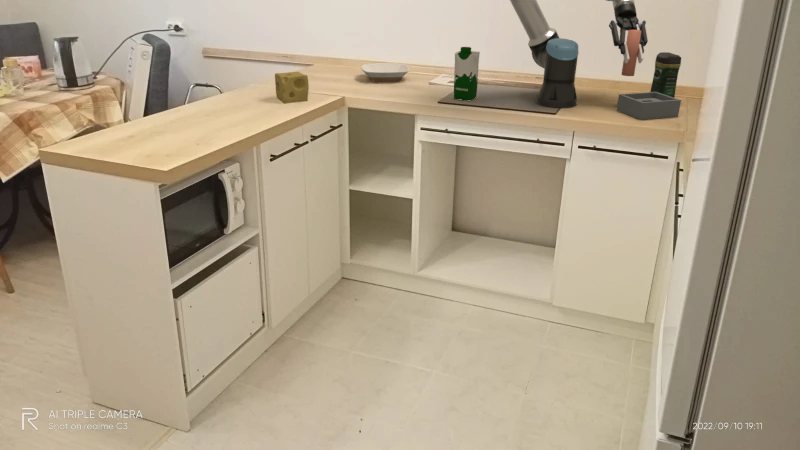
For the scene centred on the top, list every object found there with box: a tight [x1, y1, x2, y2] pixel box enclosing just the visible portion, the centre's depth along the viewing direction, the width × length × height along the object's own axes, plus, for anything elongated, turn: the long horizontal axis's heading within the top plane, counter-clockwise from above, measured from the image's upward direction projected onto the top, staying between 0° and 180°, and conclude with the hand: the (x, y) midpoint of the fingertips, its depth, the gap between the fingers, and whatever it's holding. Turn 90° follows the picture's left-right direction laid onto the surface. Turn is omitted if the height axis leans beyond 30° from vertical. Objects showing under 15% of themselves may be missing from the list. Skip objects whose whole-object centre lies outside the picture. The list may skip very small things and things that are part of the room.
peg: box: [621, 29, 641, 77], centre depth 234 cm, size 4×4×16 cm
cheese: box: [274, 71, 310, 104], centre depth 247 cm, size 10×11×10 cm
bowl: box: [360, 62, 410, 83], centre depth 285 cm, size 22×22×5 cm
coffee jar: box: [649, 51, 682, 98], centre depth 247 cm, size 10×8×19 cm
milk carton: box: [453, 46, 481, 101], centre depth 248 cm, size 9×9×20 cm
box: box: [616, 91, 682, 121], centre depth 231 cm, size 16×14×6 cm
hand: (634, 60), depth 232 cm, fingers closed on peg, 4 cm apart
